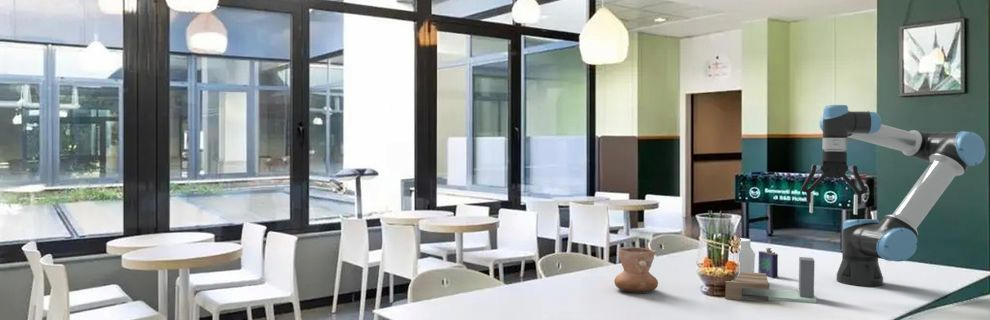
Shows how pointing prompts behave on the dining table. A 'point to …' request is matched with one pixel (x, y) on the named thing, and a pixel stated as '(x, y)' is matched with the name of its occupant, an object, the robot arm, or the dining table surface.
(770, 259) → the flask
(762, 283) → the dock
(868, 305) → the dining table surface
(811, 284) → the green platform with post
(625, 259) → the ceramic jug
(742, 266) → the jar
